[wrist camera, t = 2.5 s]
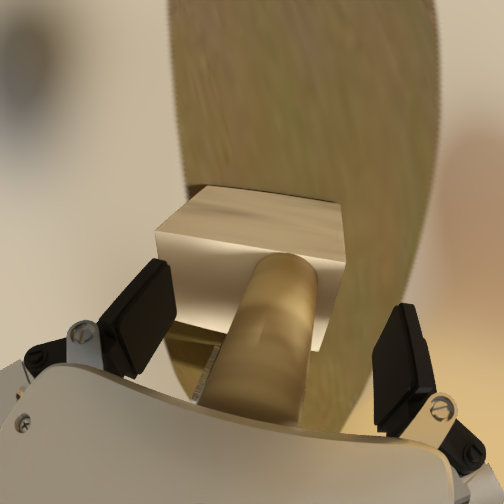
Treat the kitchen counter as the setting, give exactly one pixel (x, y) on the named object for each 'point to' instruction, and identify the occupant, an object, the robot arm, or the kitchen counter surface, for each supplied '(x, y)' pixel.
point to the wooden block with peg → (256, 291)
